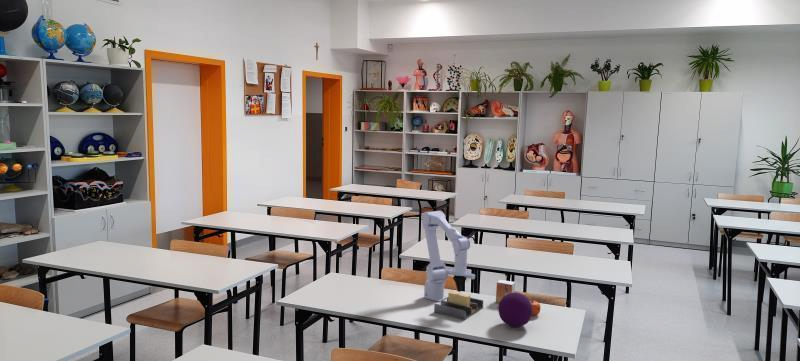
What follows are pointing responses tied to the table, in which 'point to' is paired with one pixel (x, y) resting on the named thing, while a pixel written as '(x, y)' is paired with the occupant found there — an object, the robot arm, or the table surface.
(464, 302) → the tan rectangular block
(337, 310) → the table surface
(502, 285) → the small box
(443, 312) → the rack
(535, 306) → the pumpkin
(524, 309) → the toy ball
